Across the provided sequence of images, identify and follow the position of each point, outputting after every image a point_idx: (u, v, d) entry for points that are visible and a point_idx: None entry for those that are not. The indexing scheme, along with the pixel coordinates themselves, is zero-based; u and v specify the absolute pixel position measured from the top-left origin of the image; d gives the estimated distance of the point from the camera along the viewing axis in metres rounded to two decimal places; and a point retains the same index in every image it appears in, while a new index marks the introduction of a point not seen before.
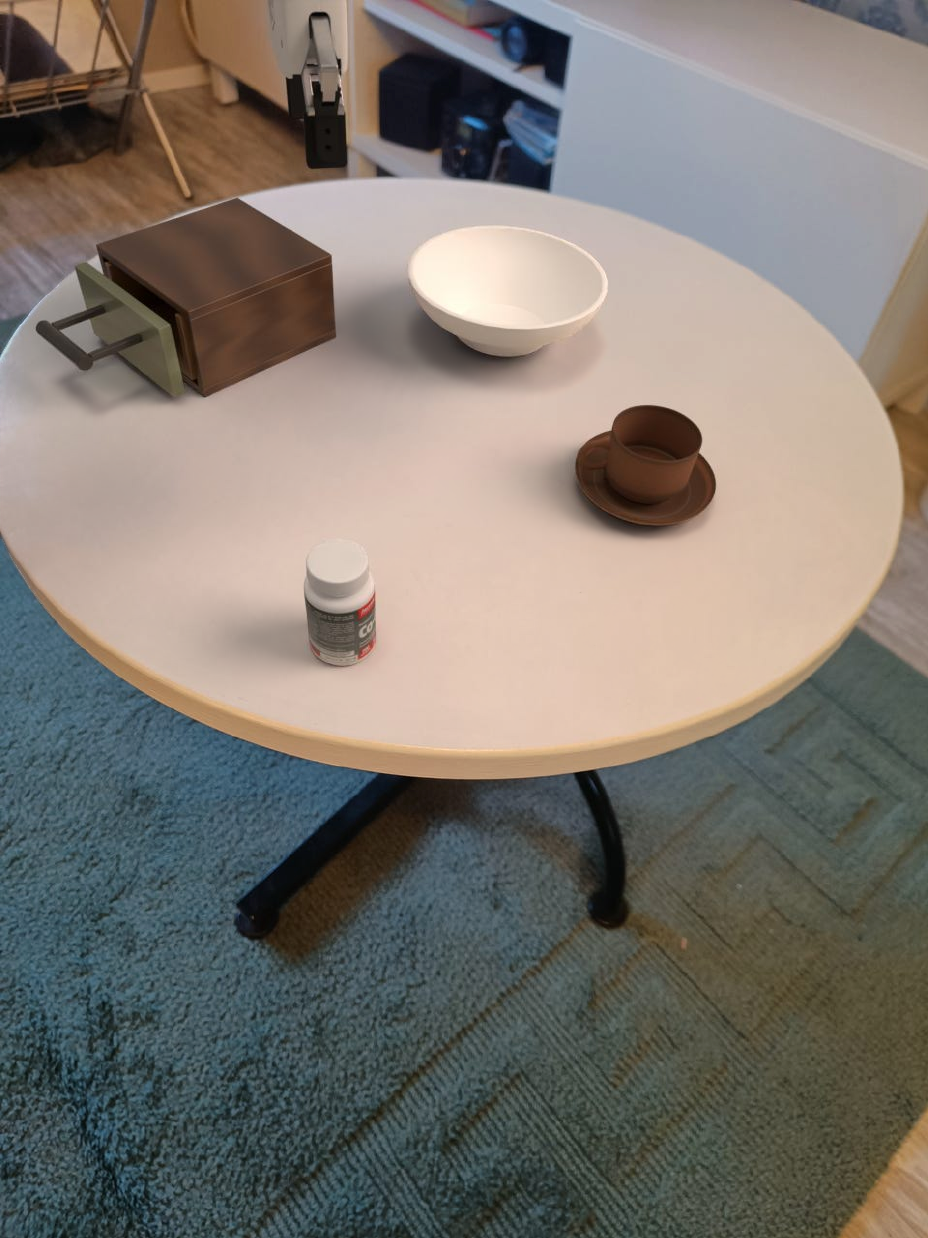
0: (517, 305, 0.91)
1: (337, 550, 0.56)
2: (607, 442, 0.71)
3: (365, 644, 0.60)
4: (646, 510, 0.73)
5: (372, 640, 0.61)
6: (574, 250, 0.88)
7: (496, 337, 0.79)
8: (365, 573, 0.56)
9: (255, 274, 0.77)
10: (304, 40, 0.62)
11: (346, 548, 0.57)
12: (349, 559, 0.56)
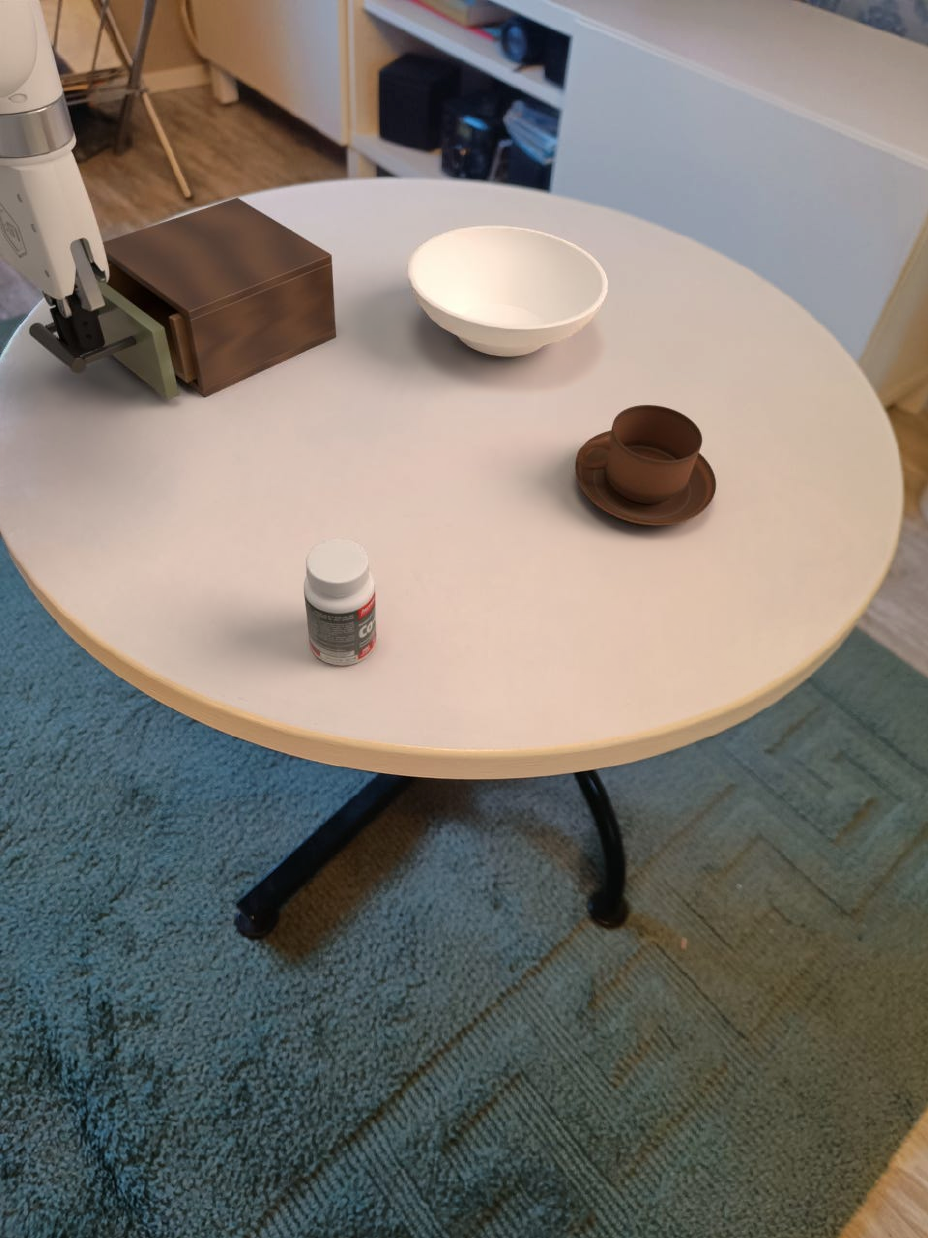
0: (517, 305, 0.91)
1: (337, 550, 0.56)
2: (607, 442, 0.71)
3: (365, 644, 0.60)
4: (646, 510, 0.73)
5: (372, 640, 0.61)
6: (574, 250, 0.88)
7: (496, 337, 0.79)
8: (365, 573, 0.56)
9: (255, 274, 0.77)
10: (70, 266, 0.66)
11: (346, 548, 0.57)
12: (349, 559, 0.56)
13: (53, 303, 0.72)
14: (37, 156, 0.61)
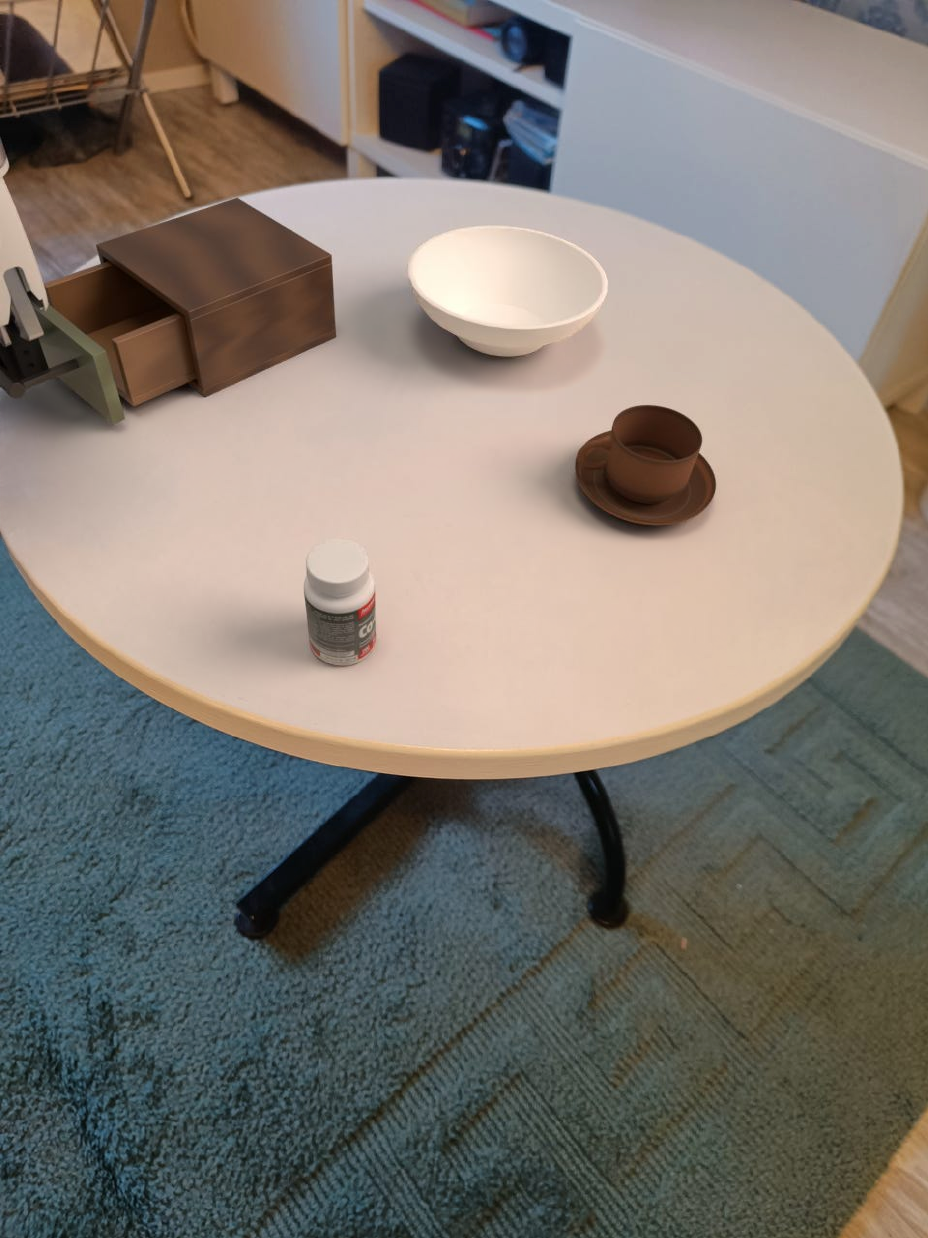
0: (517, 305, 0.91)
1: (337, 550, 0.56)
2: (607, 442, 0.71)
3: (365, 644, 0.60)
4: (646, 510, 0.73)
5: (372, 640, 0.61)
6: (574, 250, 0.88)
7: (496, 337, 0.79)
8: (365, 573, 0.56)
9: (255, 274, 0.77)
10: (4, 296, 0.63)
11: (346, 548, 0.57)
12: (349, 559, 0.56)
13: None
14: None
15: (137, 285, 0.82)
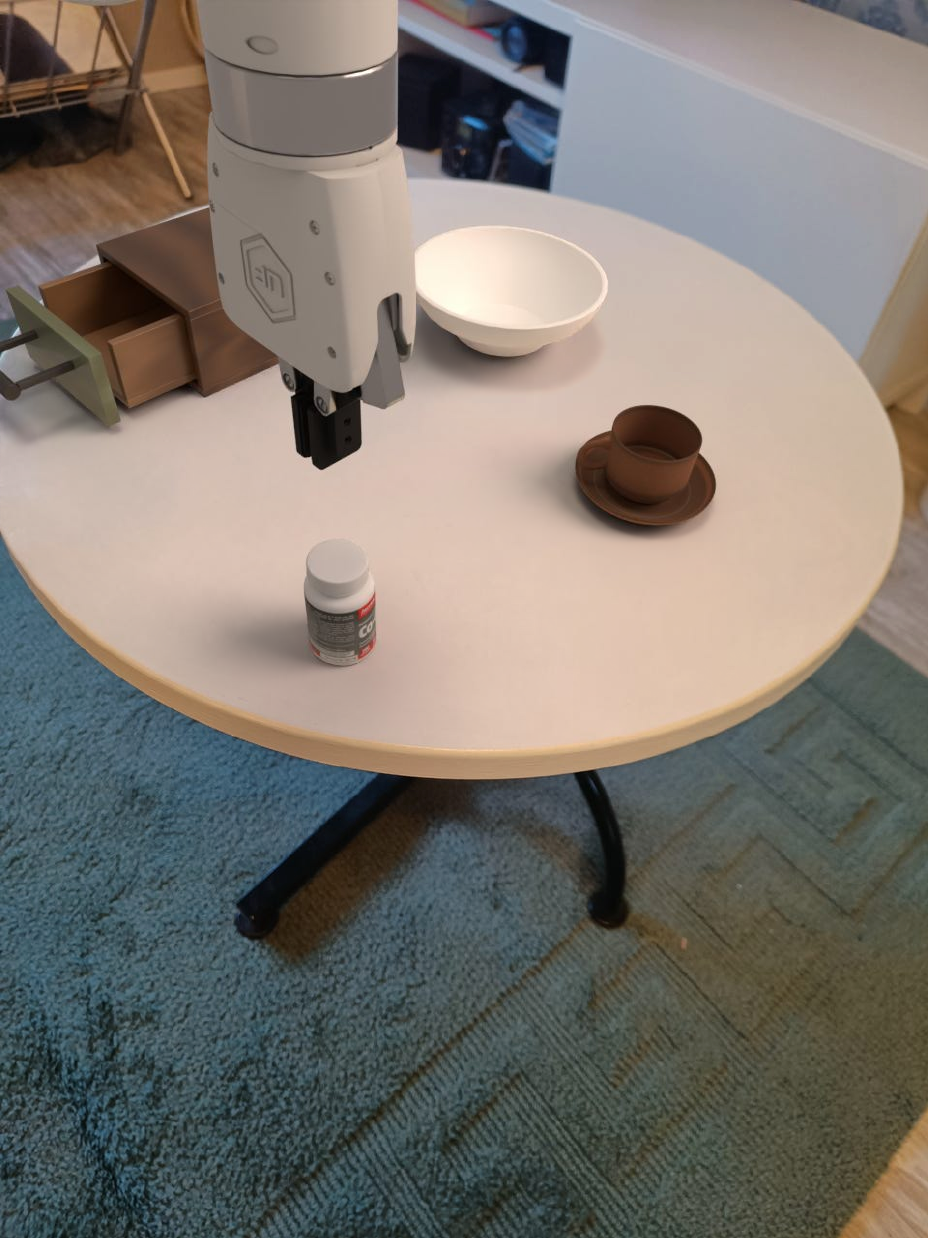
0: (517, 305, 0.91)
1: (337, 550, 0.56)
2: (607, 442, 0.71)
3: (365, 644, 0.60)
4: (646, 510, 0.73)
5: (372, 640, 0.61)
6: (574, 250, 0.88)
7: (496, 337, 0.79)
8: (365, 573, 0.56)
9: None
10: (371, 340, 0.39)
11: (346, 548, 0.57)
12: (349, 559, 0.56)
13: (297, 388, 0.46)
14: (354, 154, 0.34)
15: (133, 286, 0.82)
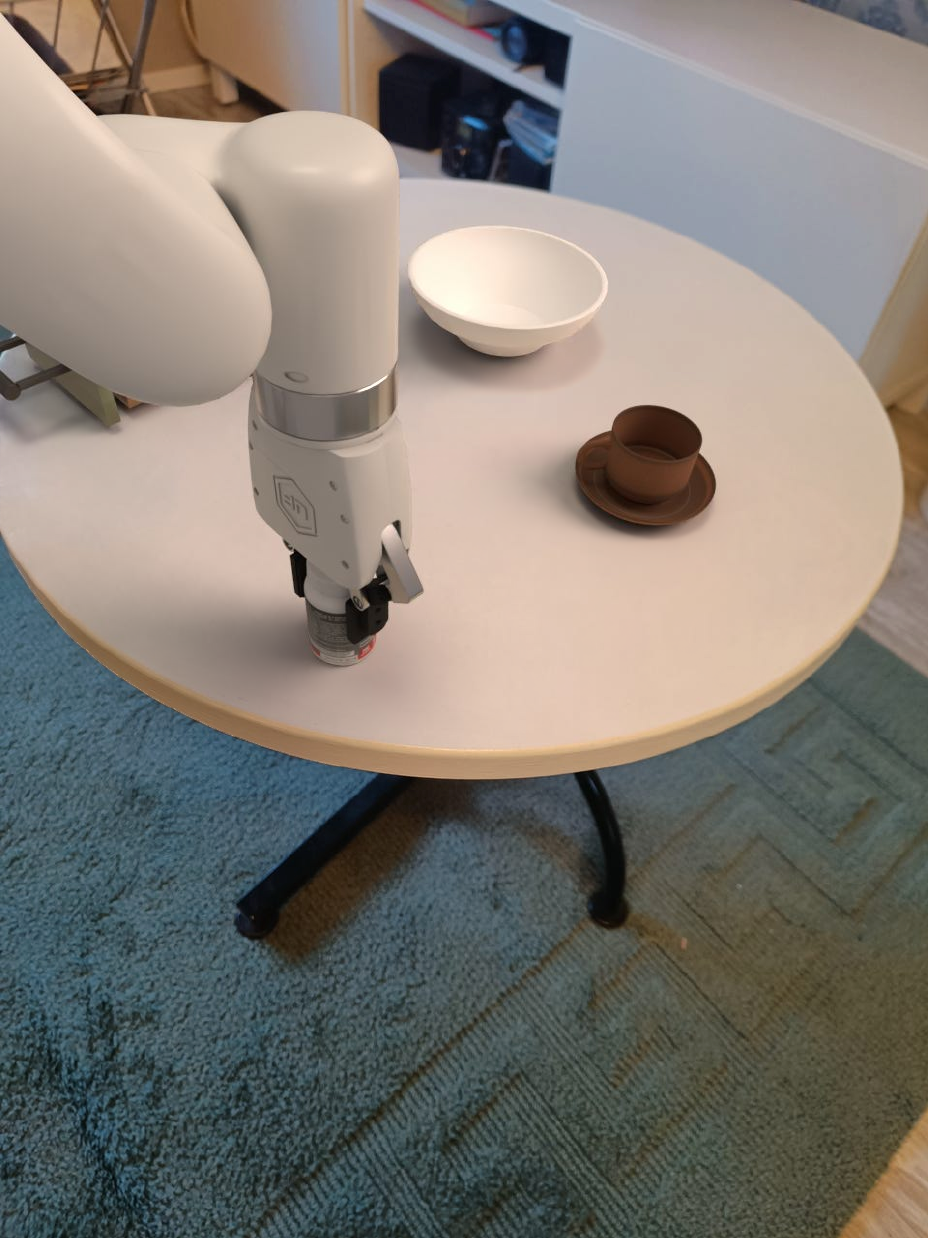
0: (517, 305, 0.91)
1: None
2: (607, 442, 0.71)
3: (365, 644, 0.60)
4: (646, 510, 0.73)
5: (372, 640, 0.61)
6: (574, 250, 0.88)
7: (496, 337, 0.79)
8: None
9: None
10: (376, 555, 0.49)
11: None
12: None
13: (294, 550, 0.57)
14: (364, 435, 0.44)
15: None
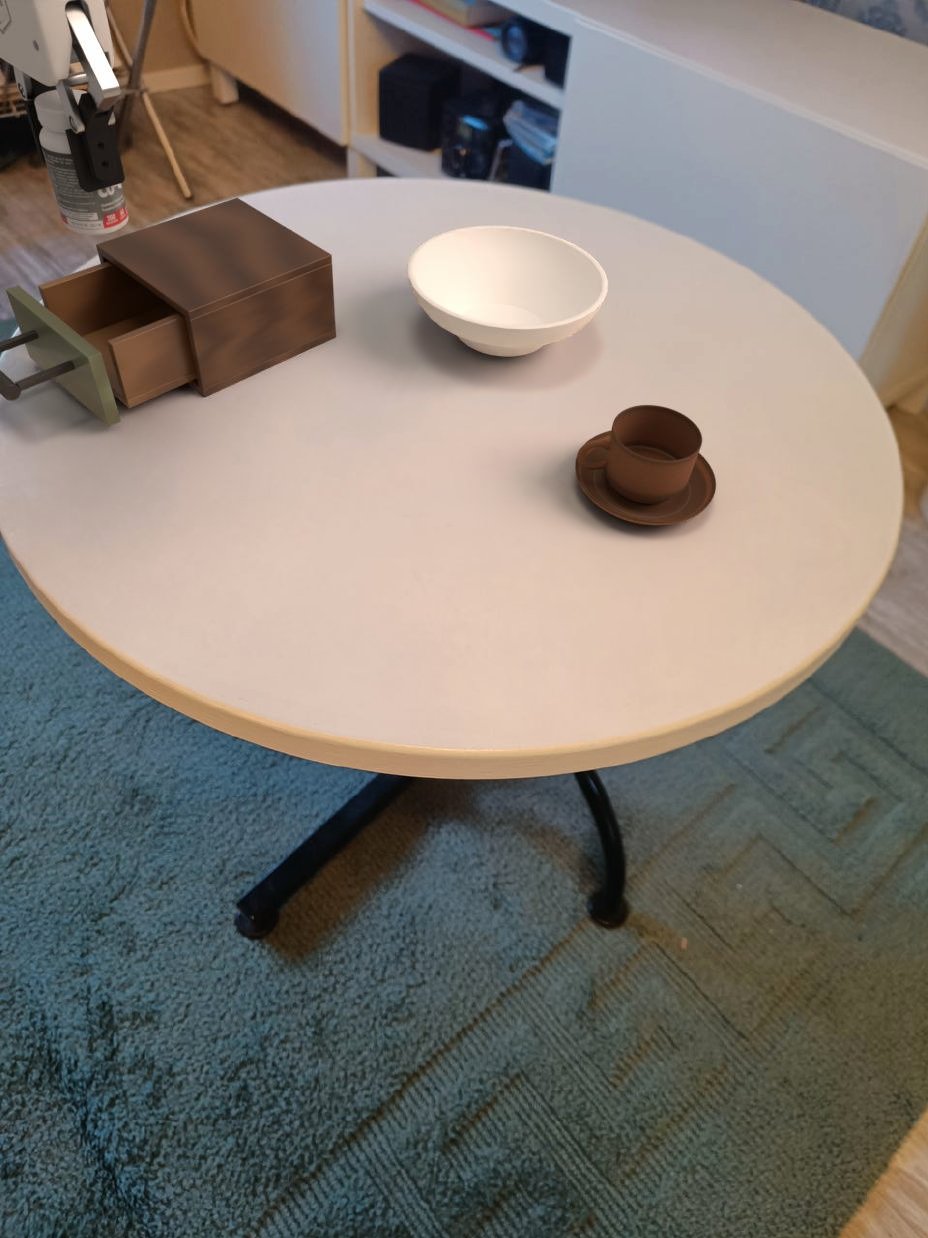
0: (517, 305, 0.91)
1: None
2: (607, 442, 0.71)
3: (109, 209, 0.63)
4: (646, 510, 0.73)
5: (117, 210, 0.64)
6: (574, 250, 0.88)
7: (496, 337, 0.79)
8: None
9: (255, 274, 0.77)
10: (65, 36, 0.52)
11: (77, 93, 0.60)
12: (77, 99, 0.59)
13: (28, 98, 0.60)
14: None
15: (133, 286, 0.82)
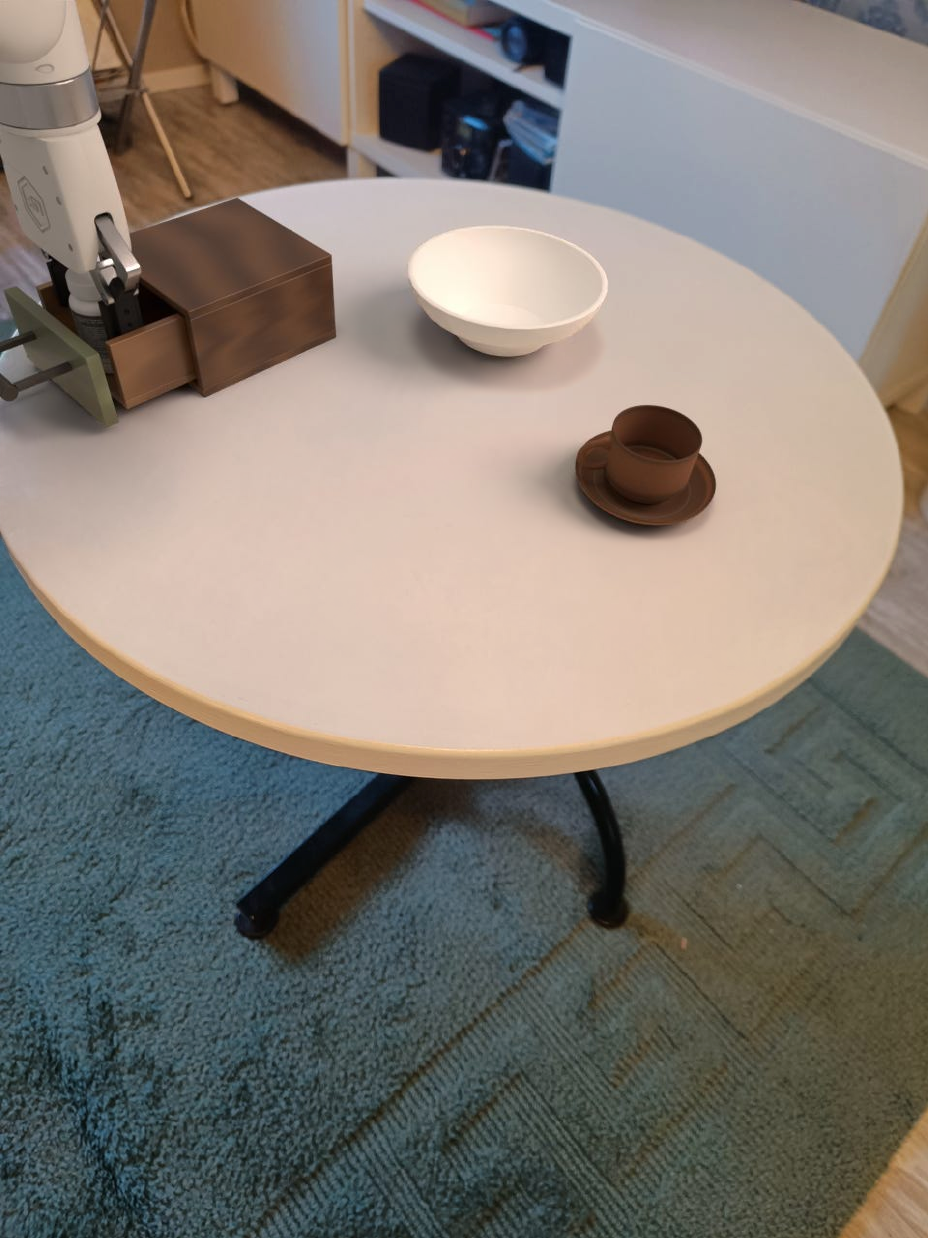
0: (517, 305, 0.91)
1: None
2: (607, 442, 0.71)
3: None
4: (646, 510, 0.73)
5: None
6: (574, 250, 0.88)
7: (496, 337, 0.79)
8: None
9: (255, 274, 0.77)
10: (94, 240, 0.66)
11: None
12: None
13: (49, 259, 0.74)
14: (64, 128, 0.61)
15: None
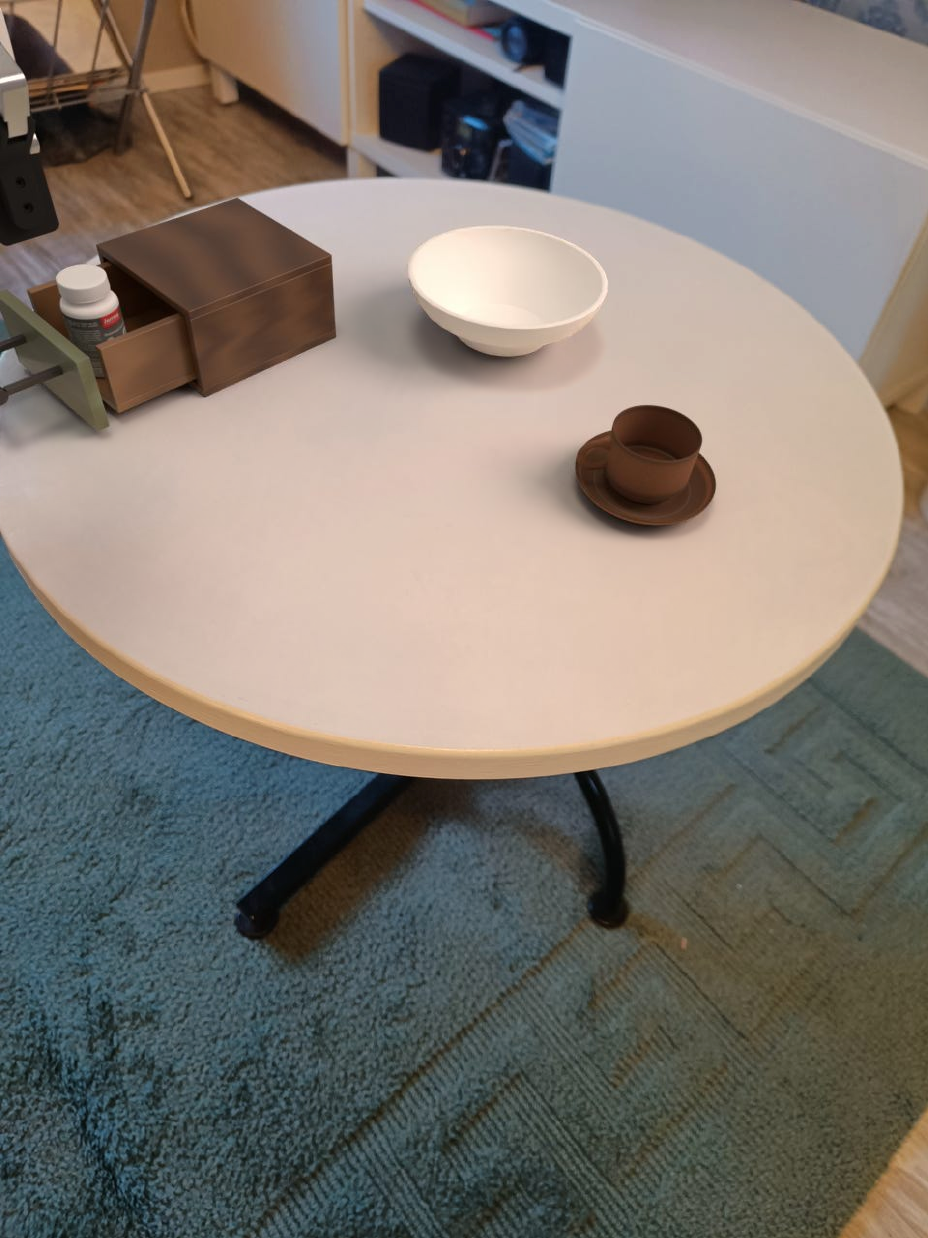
0: (517, 305, 0.91)
1: (83, 270, 0.72)
2: (607, 442, 0.71)
3: None
4: (646, 510, 0.73)
5: None
6: (574, 250, 0.88)
7: (496, 337, 0.79)
8: (102, 285, 0.72)
9: (255, 274, 0.77)
10: None
11: (90, 269, 0.73)
12: (91, 275, 0.72)
13: None
14: None
15: (123, 290, 0.81)
